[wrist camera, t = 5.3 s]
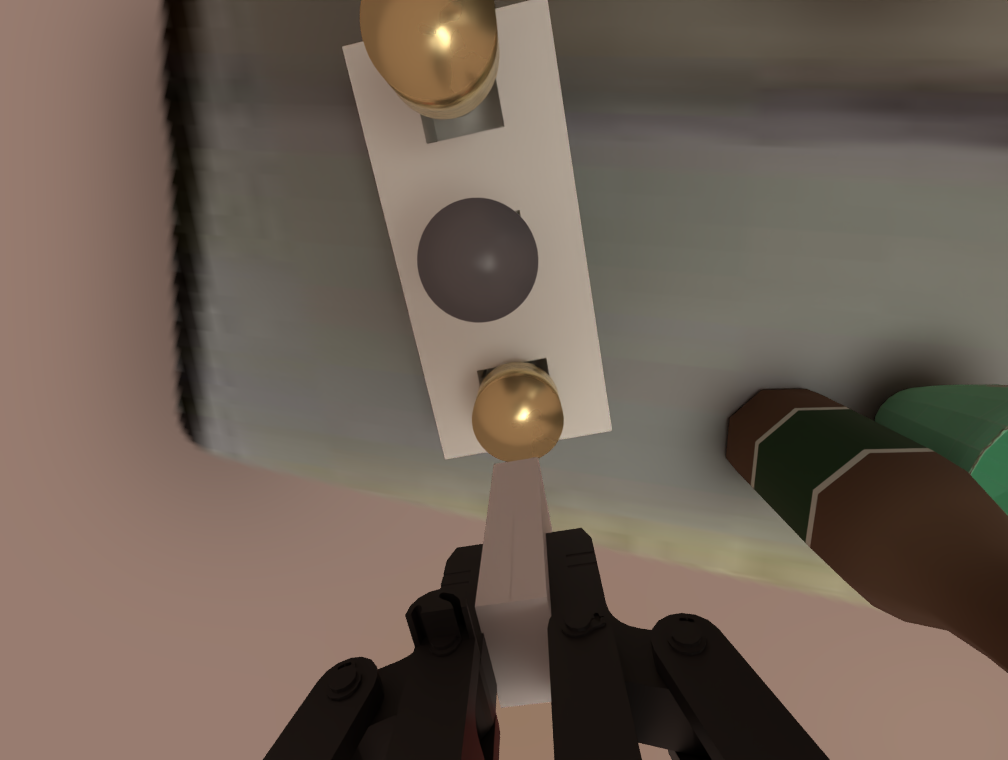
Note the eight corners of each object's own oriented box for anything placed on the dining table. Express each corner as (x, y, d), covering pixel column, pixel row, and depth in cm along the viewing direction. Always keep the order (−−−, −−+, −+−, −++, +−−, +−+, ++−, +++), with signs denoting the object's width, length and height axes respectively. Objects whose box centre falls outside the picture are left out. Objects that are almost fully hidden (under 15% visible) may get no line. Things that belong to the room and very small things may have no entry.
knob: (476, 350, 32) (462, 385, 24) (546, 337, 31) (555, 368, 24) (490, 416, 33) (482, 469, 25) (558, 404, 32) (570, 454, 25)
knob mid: (438, 221, 26) (403, 211, 18) (524, 202, 25) (526, 185, 18) (457, 307, 27) (432, 332, 19) (539, 290, 27) (547, 310, 19)
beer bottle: (704, 408, 34) (1092, 754, 11) (815, 364, 33) (1501, 644, 10) (738, 500, 36) (1132, 961, 13) (845, 460, 35) (1483, 887, 12)
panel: (377, 85, 29) (342, 46, 24) (541, 45, 28) (546, -4, 23) (457, 423, 35) (445, 459, 29) (596, 398, 34) (612, 430, 28)
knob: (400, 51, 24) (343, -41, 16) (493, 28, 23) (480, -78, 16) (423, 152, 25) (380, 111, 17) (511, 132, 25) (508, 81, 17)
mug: (808, 451, 35) (918, 531, 25) (894, 327, 32) (1053, 363, 23) (978, 530, 36) (1145, 635, 26) (1073, 417, 34) (1297, 486, 24)
